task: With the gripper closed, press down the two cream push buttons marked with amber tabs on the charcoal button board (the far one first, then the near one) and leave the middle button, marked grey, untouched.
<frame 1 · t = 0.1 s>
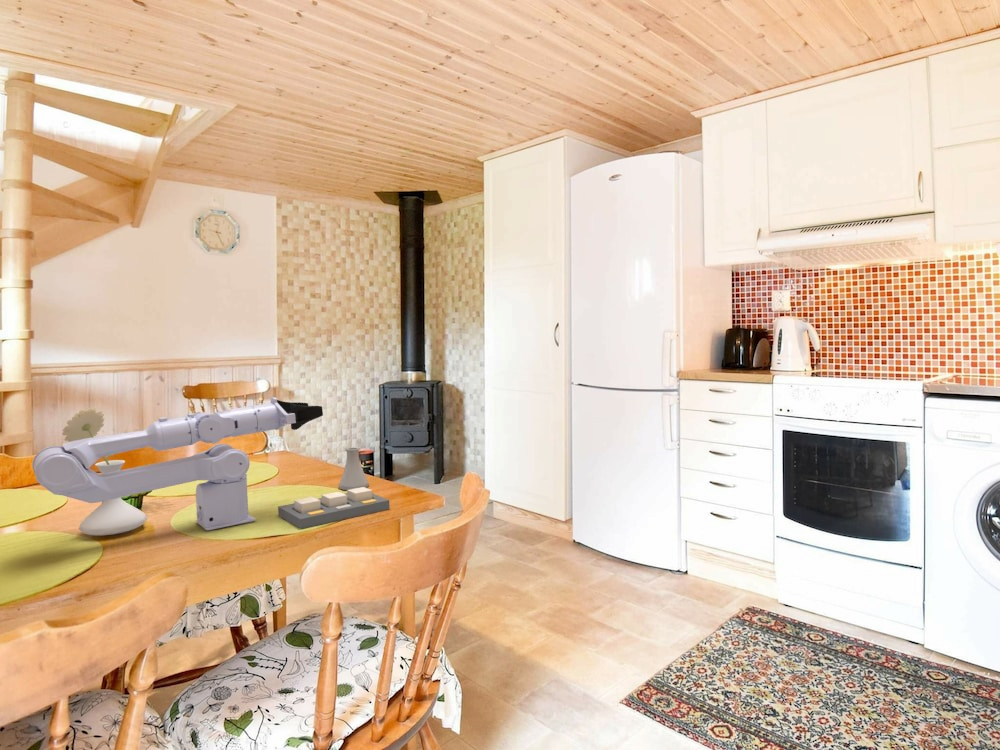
hand: (314, 409, 136), 22 cm above the table, tool horizontal, fingers open, 7 cm apart
button middle: (334, 499, 131), point 3 cm above the table, slide at 0.0 cm
button far: (359, 494, 135), point 3 cm above the table, slide at 0.0 cm
button board: (334, 512, 131), on the table
flower in vase: (109, 533, 120), on the table
button near: (307, 504, 127), point 3 cm above the table, slide at 0.0 cm
flask: (353, 488, 152), on the table
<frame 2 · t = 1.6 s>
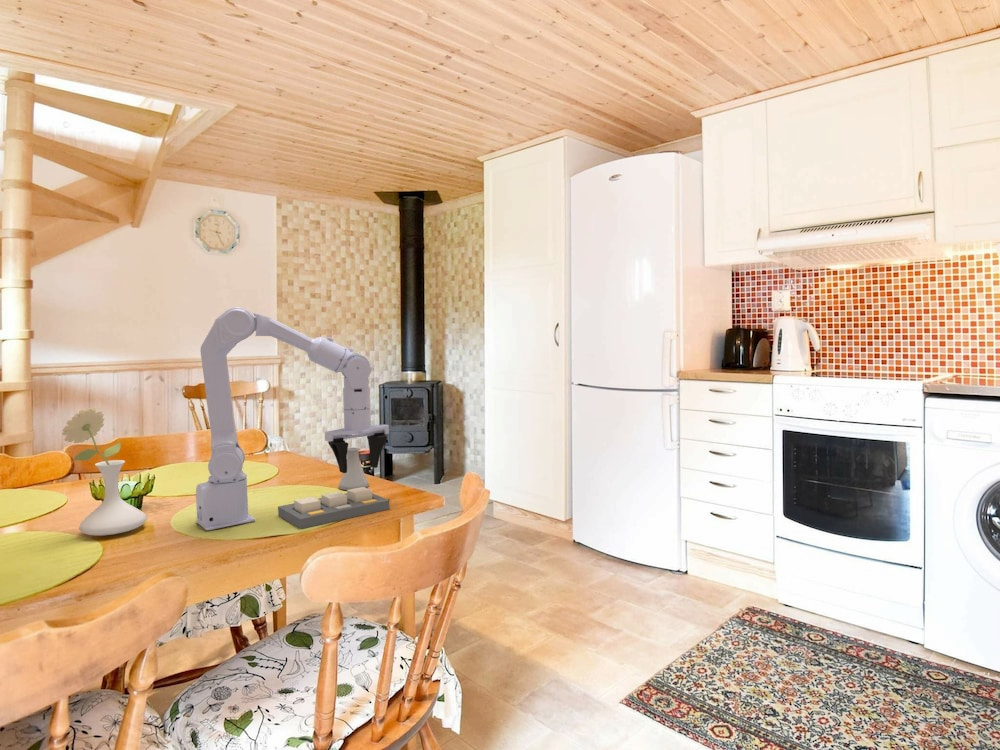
hand: (358, 469, 134), 8 cm above the table, tool pointing down, fingers open, 7 cm apart
nothing on the table moved.
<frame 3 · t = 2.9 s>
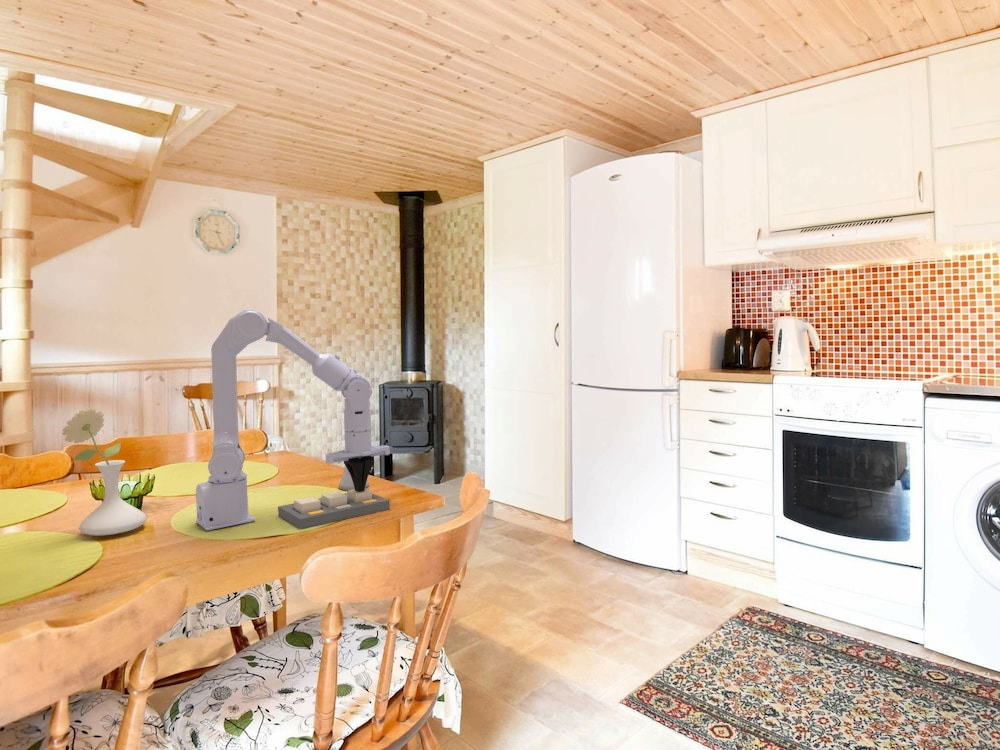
hand: (359, 491, 135), 4 cm above the table, tool pointing down, fingers closed, pressing on button far
button far: (359, 495, 135), point 3 cm above the table, slide at 0.2 cm, touching gripper
everything else where it was.
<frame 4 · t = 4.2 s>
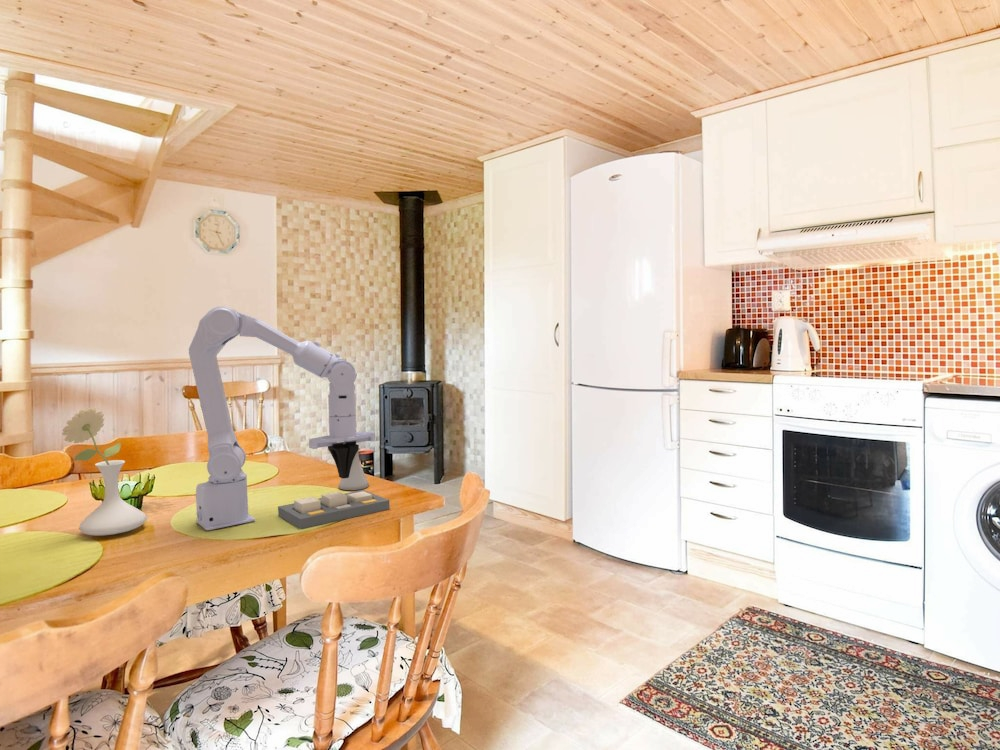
hand: (344, 477, 132), 7 cm above the table, tool pointing down, fingers closed
button far: (359, 499, 135), point 2 cm above the table, slide at 1.0 cm
everything else where it was.
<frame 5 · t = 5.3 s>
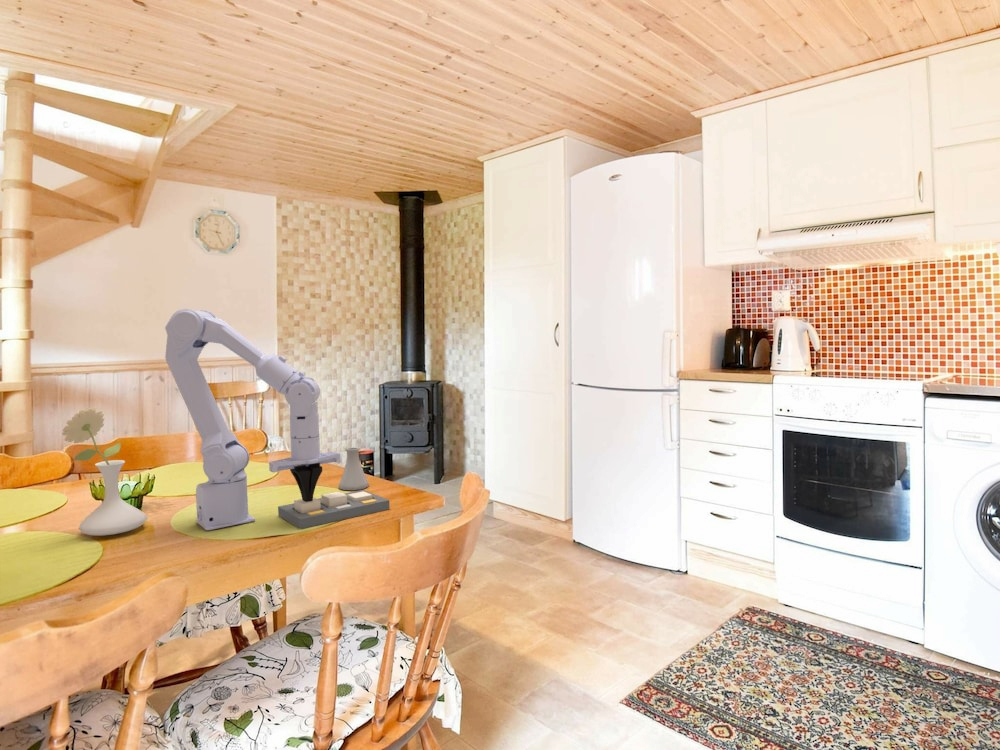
hand: (307, 500, 127), 4 cm above the table, tool pointing down, fingers closed, pressing on button near
button near: (307, 505, 127), point 3 cm above the table, slide at 0.1 cm, touching gripper
everything else where it was.
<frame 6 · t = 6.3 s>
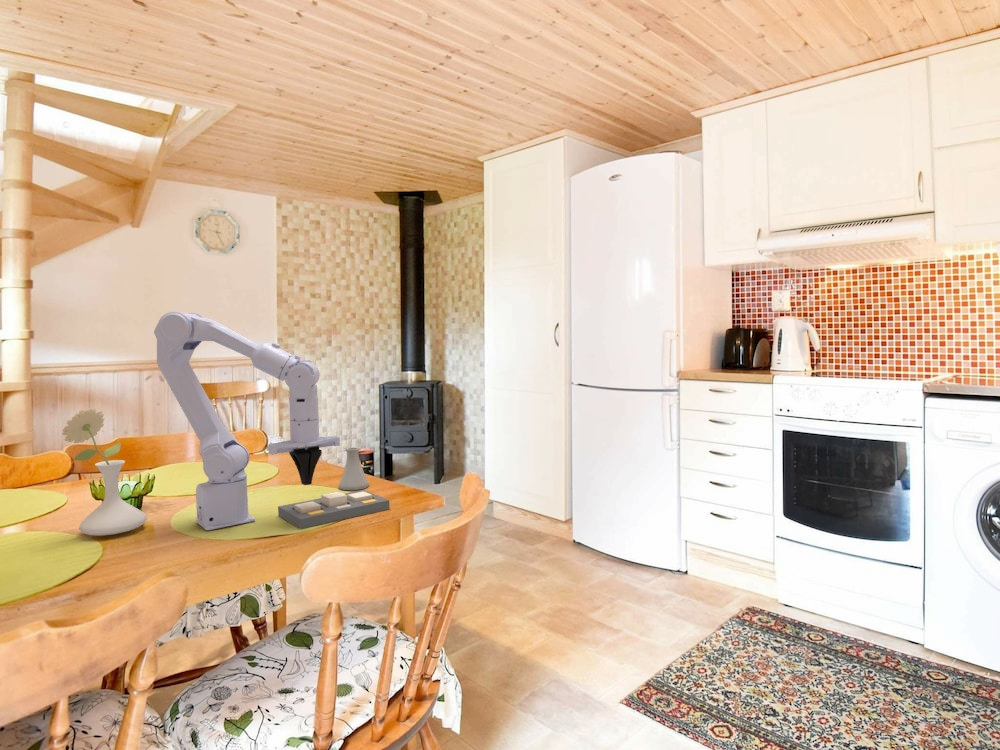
hand: (306, 483, 127), 7 cm above the table, tool pointing down, fingers closed
button near: (307, 509, 127), point 2 cm above the table, slide at 1.0 cm
everything else where it was.
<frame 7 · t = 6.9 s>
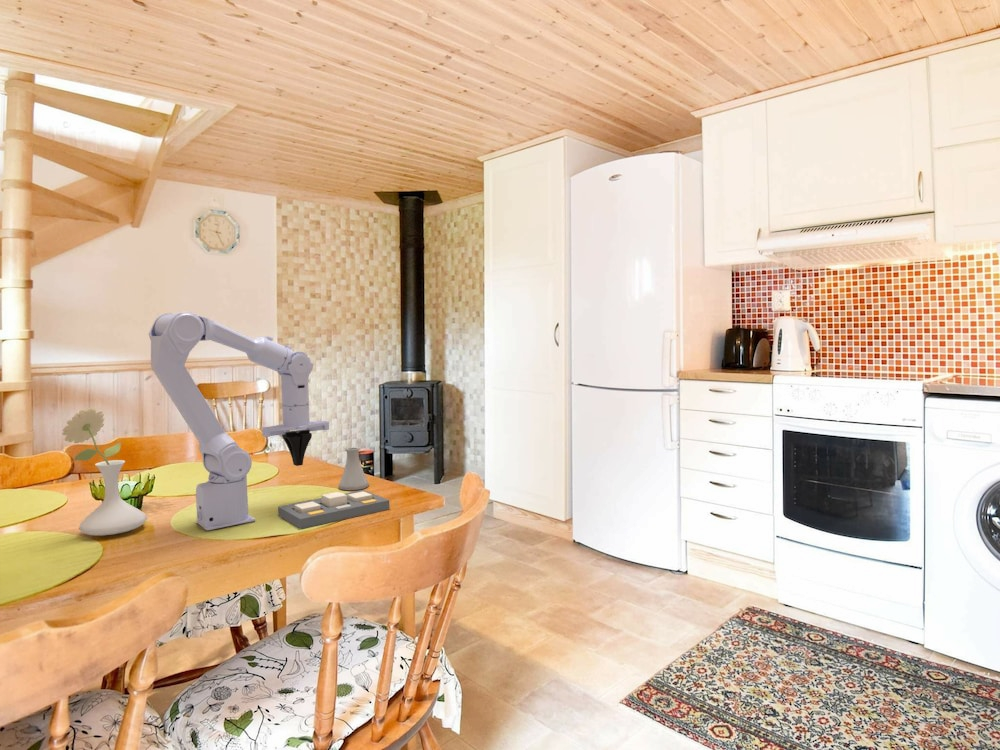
hand: (298, 464, 137), 9 cm above the table, tool pointing down, fingers closed
nothing on the table moved.
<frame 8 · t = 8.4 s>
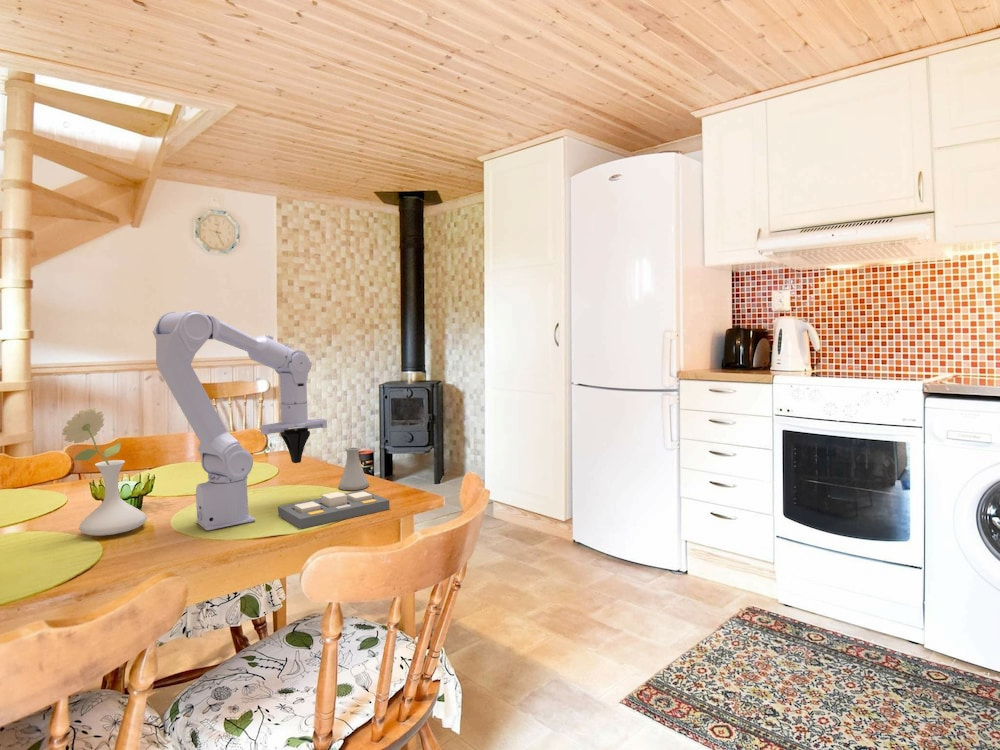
hand: (296, 462, 138), 9 cm above the table, tool pointing down, fingers closed
nothing on the table moved.
at the end: button far slide at 1.0 cm; button near slide at 1.0 cm; button middle slide at 0.0 cm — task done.
